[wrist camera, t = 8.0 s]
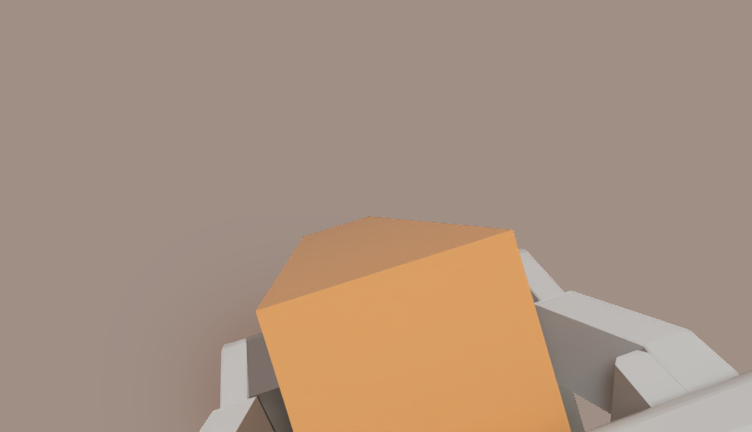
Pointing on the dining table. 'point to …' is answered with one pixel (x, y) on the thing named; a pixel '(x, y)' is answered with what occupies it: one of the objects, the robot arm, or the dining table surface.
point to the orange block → (409, 332)
